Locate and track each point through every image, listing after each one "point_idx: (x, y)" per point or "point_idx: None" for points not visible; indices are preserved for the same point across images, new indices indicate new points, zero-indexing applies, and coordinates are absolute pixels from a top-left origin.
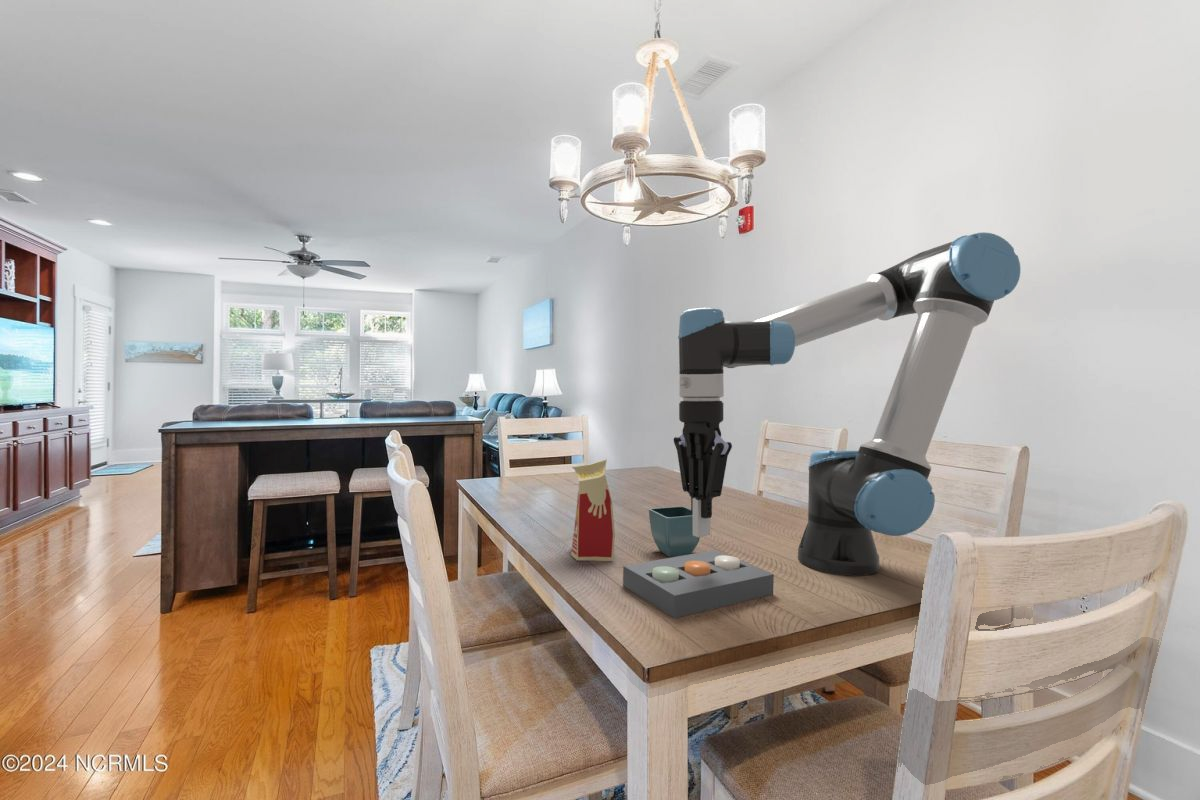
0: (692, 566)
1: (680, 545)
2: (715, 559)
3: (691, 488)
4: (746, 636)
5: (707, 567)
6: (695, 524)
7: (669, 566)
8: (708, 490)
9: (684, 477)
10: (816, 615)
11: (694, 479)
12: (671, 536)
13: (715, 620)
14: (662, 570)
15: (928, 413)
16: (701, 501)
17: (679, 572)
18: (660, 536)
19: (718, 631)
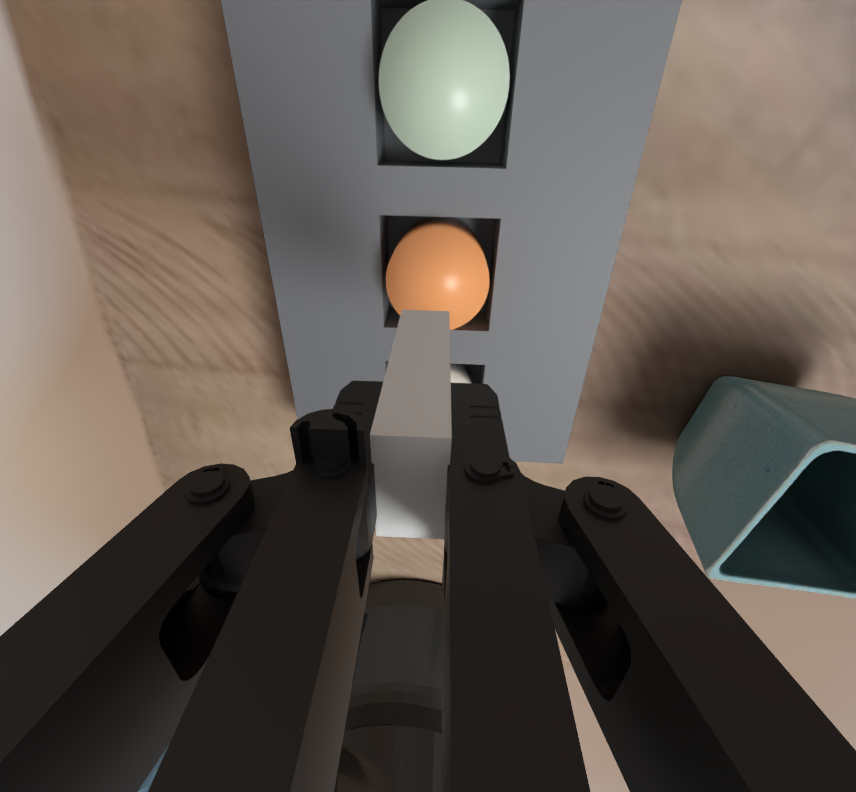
0: (430, 250)
1: (706, 423)
2: (451, 381)
3: (484, 512)
4: (77, 137)
5: (393, 296)
6: (421, 337)
7: (531, 197)
8: (171, 519)
9: (660, 624)
10: (180, 405)
11: (449, 627)
12: (747, 410)
13: (203, 129)
14: (453, 69)
15: None
16: (369, 451)
17: (449, 186)
18: (809, 396)
19: (120, 70)
